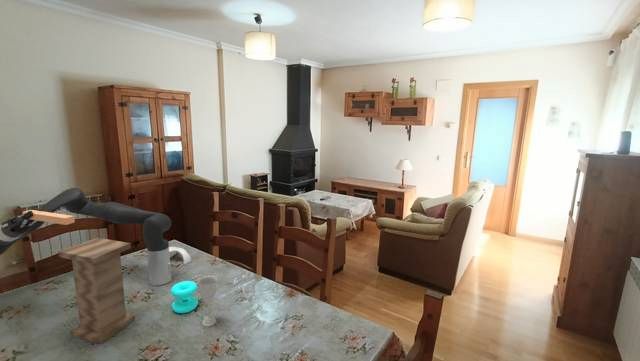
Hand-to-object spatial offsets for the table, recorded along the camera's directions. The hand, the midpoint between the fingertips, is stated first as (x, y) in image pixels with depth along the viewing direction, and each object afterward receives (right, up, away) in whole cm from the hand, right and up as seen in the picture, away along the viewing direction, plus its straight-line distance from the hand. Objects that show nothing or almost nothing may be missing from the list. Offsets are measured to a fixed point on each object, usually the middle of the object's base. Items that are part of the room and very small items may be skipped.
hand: (37, 211), depth 115 cm
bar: (+5, -3, -1) cm, 6 cm away
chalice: (+63, -44, +5) cm, 77 cm away
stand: (+25, -44, 0) cm, 50 cm away
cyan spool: (+50, -42, +14) cm, 66 cm away
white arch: (+23, -33, +59) cm, 72 cm away
